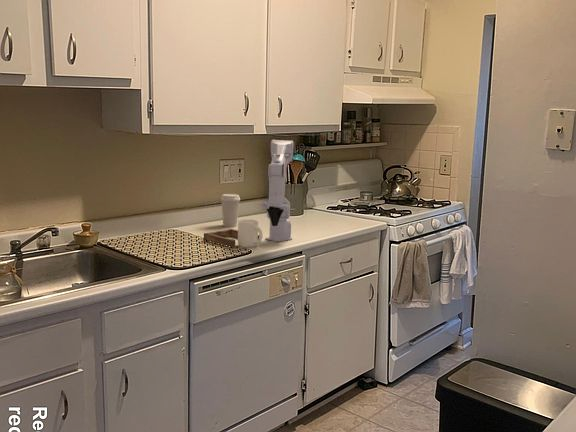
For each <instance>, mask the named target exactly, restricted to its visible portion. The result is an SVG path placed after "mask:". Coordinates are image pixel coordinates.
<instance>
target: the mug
mask: <svg viewBox="0 0 576 432" xmlns="http://www.w3.org/2000/svg"><path fill="white" fill-rule="evenodd" d="M237 230H238V238H237V245H238V246H239V247H241V248H255V247H257V246H258V244H260V243H261V242H262V240H263V236H264V235H263V231H262V229H261V227H260V226H259V221H258V219H251V218H250V219H249V218H246V219H244V218H243V219H240V220H237ZM258 235H259V239H258Z"/></svg>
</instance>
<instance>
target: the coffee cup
mask: <svg viewBox="0 0 576 432" xmlns="http://www.w3.org/2000/svg"><path fill="white" fill-rule="evenodd" d="M220 200H221V210H222V225H223V227H226V228H233V227H234V228H235V227H238V218H239V208H240V207H239V206H240V201H241V198H240V195H239V194H237V193H224V194H222V195H221V197H220Z"/></svg>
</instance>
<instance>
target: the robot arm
mask: <svg viewBox="0 0 576 432" xmlns="http://www.w3.org/2000/svg"><path fill="white" fill-rule="evenodd" d="M294 147H295V146H294V141H293V140H282V139H281V140H280V139H279V140H278V139H272V140H271V141H270V155H271V156H270V157H271V163H269V164H268V169H267V171H268V182H269V183H268V184H269V185H268V201H267V200H263V201H261V202H260V207H266V217H267V219H269V236H267V237H265V238H264V239H265V240H267V241H273V242H276V243H279V242H280V243H281V242H284V241H290V240H293V238H292V224H291V221H290V216H291V215H290V214H291V202H290V201H289V200H288V199H287V198H286V197H285V193H286V180H287V166H288V165H289V164H288V163H290V162H292V161H293V158H294Z"/></svg>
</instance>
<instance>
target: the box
mask: <svg viewBox="0 0 576 432" xmlns="http://www.w3.org/2000/svg"><path fill="white" fill-rule="evenodd" d="M230 237H231V238H230ZM232 238H237V239H238V229H234V228H228V229H223V230H221V229H220V230H216V231H210V232H209V231H208V232H204V233H203V241H205V240H207V241H206V242H208V241H211V242H210V243H212V242H215V243H214V244H216V243H219V244H218V245H220V244H223V245H222V246H224V245H227V246H226V247H228V246H230V247H229V248H231V247H234V248H236V239H232ZM258 239H259V234H258Z"/></svg>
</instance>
